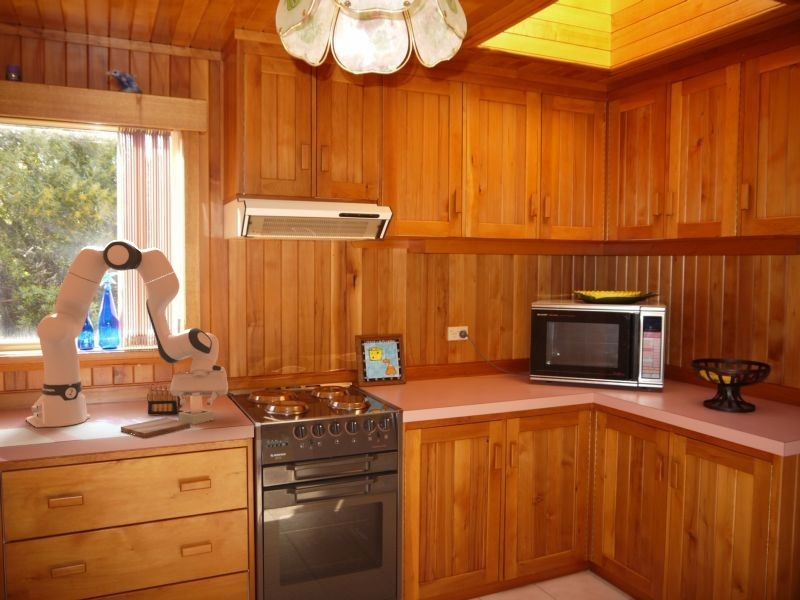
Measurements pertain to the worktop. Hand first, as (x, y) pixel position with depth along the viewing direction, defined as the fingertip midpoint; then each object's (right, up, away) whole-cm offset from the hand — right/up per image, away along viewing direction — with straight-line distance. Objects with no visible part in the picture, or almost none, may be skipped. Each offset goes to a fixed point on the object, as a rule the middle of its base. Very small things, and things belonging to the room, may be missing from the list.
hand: (195, 404), depth 230 cm
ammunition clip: (-16, -6, +12) cm, 20 cm away
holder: (0, -6, +1) cm, 6 cm away
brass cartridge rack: (-17, -5, +18) cm, 25 cm away
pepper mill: (0, -6, +1) cm, 6 cm away
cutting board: (-10, -7, -12) cm, 17 cm away
